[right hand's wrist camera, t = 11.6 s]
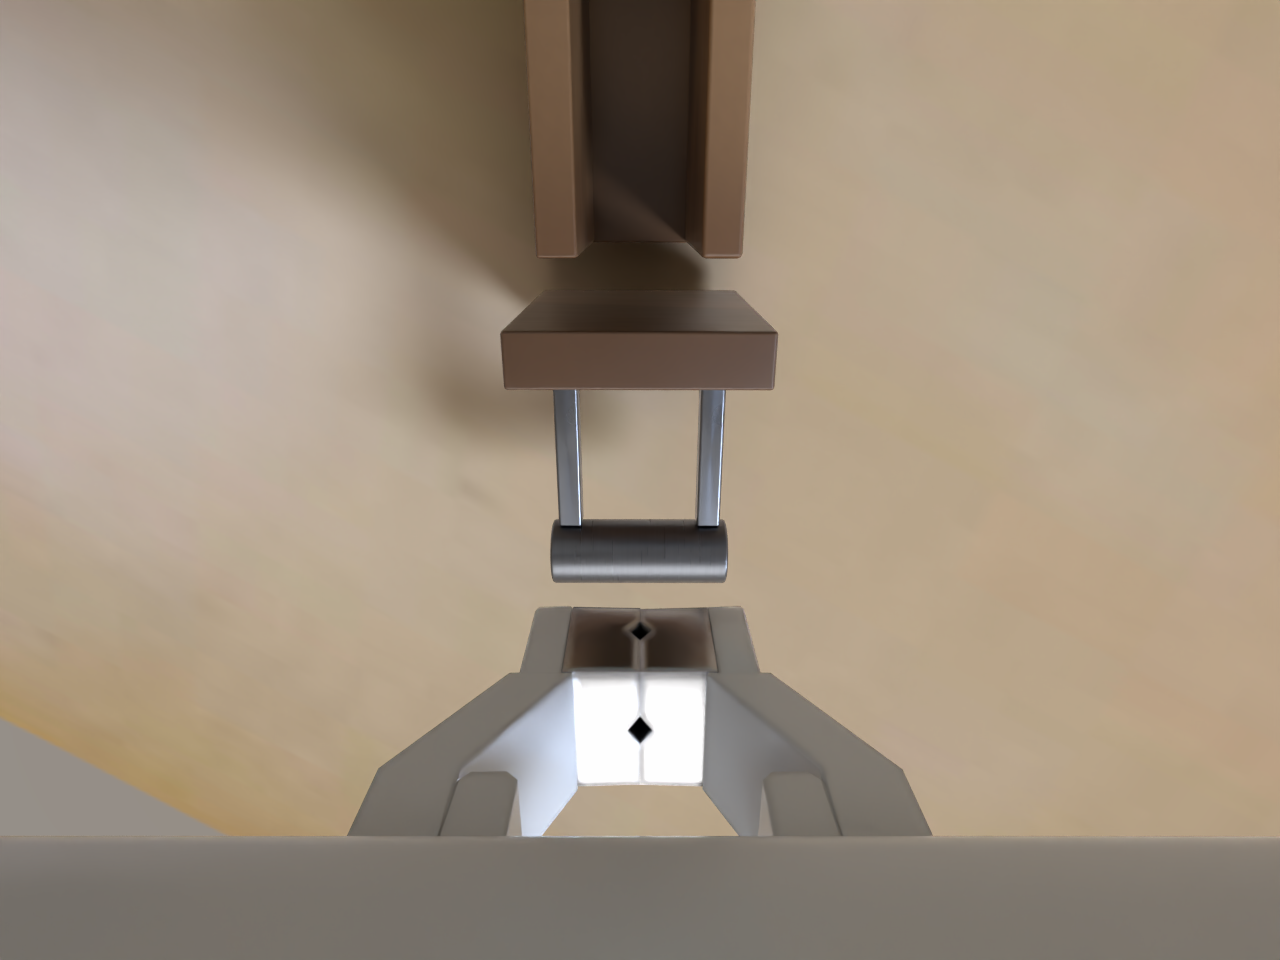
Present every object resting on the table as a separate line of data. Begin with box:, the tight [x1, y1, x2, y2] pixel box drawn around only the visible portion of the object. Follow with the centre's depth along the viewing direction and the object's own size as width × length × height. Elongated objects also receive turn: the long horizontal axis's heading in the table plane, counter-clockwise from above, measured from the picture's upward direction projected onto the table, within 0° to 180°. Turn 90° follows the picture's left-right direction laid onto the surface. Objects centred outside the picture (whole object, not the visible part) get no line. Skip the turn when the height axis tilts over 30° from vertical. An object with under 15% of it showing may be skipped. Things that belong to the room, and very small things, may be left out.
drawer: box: [500, 0, 778, 583], centre depth 15 cm, size 23×6×7 cm, turn 0°
